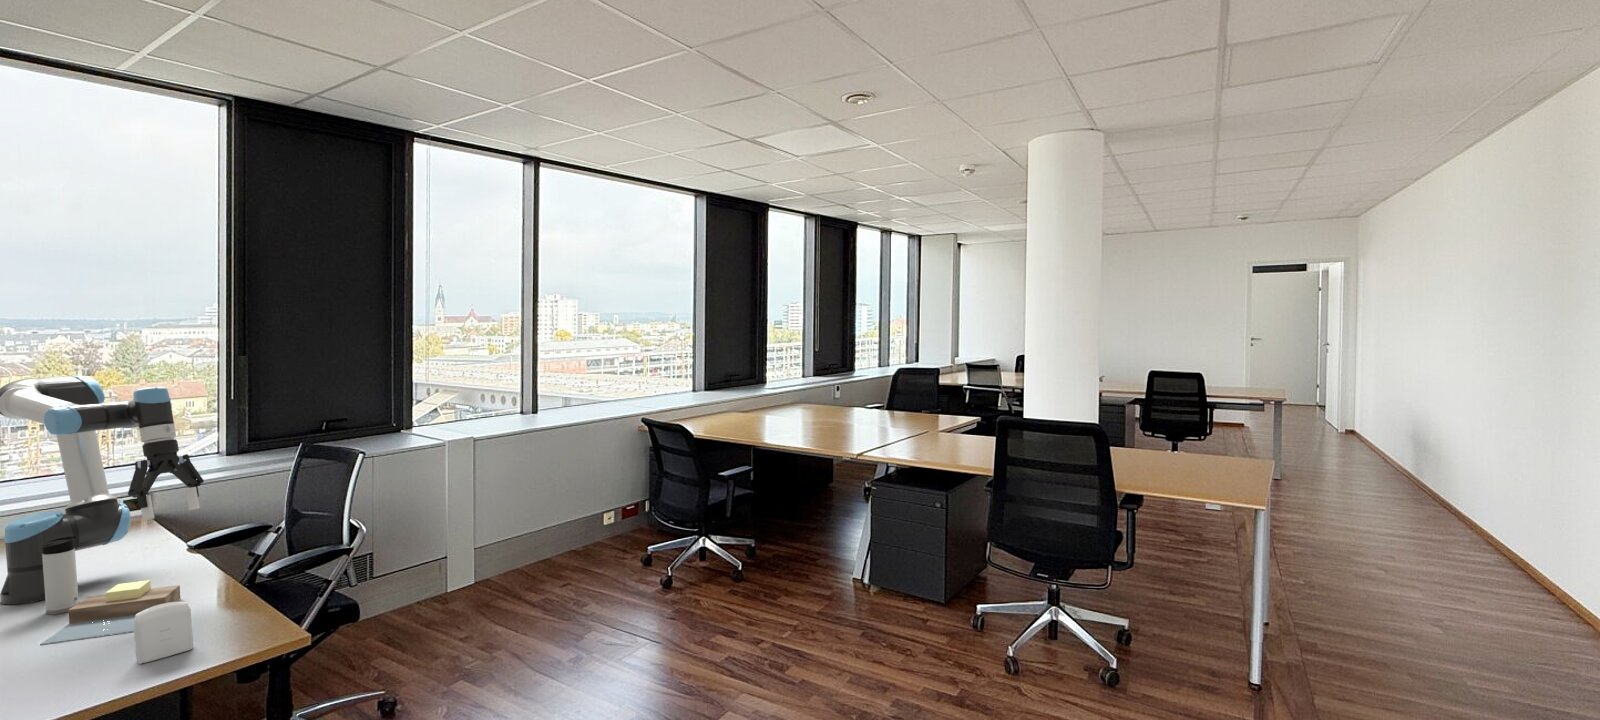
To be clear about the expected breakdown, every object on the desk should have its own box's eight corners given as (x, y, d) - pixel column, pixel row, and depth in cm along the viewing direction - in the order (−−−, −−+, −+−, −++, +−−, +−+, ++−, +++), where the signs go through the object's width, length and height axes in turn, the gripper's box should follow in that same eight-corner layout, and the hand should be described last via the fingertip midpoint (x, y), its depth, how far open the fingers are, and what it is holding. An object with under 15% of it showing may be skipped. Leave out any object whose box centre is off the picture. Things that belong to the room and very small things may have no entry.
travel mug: (85, 606, 199) (80, 536, 198) (54, 615, 193) (49, 543, 192) (72, 603, 201) (67, 534, 200) (41, 613, 195) (35, 541, 194)
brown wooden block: (89, 610, 196) (88, 596, 196) (180, 598, 204) (179, 585, 204) (69, 624, 187) (68, 609, 187) (165, 611, 195) (164, 597, 195)
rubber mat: (69, 624, 187) (69, 623, 187) (165, 611, 195) (165, 610, 195) (40, 645, 175) (40, 644, 175) (144, 630, 183) (144, 629, 183)
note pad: (118, 592, 198) (118, 584, 198) (150, 588, 201) (150, 580, 201) (106, 601, 192) (105, 592, 192) (139, 597, 195) (138, 588, 195)
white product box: (137, 666, 164) (134, 613, 163) (134, 660, 166) (131, 609, 166) (195, 650, 171) (192, 600, 171) (191, 645, 174) (188, 595, 174)
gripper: (127, 443, 190) (140, 521, 190) (210, 434, 215) (223, 503, 215) (101, 448, 191) (115, 526, 190) (188, 439, 216) (200, 507, 215)
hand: (172, 514), depth 202 cm, fingers open, 13 cm apart
